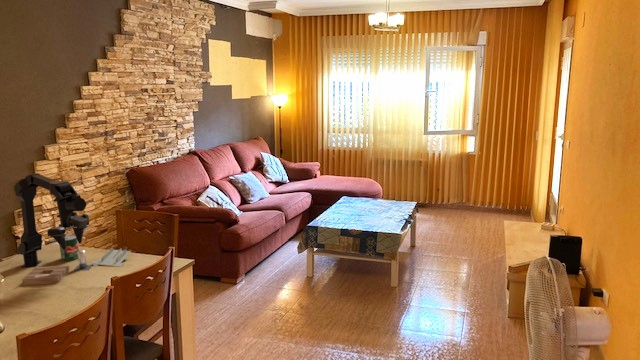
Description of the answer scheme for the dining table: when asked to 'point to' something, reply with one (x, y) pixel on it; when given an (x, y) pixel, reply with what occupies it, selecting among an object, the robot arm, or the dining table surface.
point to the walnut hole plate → (46, 275)
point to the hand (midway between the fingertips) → (72, 246)
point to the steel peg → (82, 259)
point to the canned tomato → (70, 249)
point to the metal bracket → (112, 258)
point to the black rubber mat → (83, 269)
